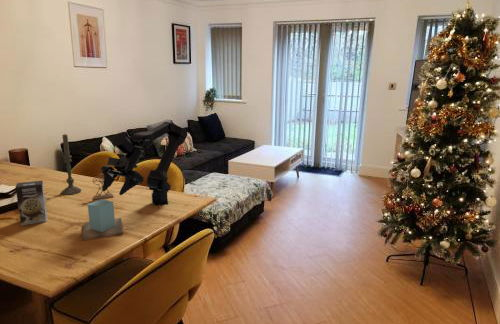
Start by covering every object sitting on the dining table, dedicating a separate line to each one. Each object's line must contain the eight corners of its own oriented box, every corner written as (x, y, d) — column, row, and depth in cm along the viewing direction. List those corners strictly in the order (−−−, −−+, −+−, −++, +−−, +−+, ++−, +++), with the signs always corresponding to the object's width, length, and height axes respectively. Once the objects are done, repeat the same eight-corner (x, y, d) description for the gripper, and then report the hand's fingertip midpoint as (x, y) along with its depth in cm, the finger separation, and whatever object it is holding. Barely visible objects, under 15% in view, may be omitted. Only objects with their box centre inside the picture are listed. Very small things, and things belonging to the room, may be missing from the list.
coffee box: (20, 226, 138) (14, 187, 134) (22, 220, 144) (16, 182, 140) (47, 221, 142) (41, 184, 138) (47, 216, 148) (42, 179, 144)
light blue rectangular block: (103, 222, 140) (101, 199, 138) (115, 225, 137) (113, 201, 135) (90, 228, 135) (87, 204, 132) (101, 232, 132) (99, 207, 129)
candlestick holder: (68, 196, 171) (60, 135, 164) (57, 192, 176) (50, 133, 169) (85, 191, 179) (79, 133, 171) (74, 187, 184) (68, 131, 176)
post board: (121, 220, 145) (120, 209, 144) (123, 234, 133) (122, 222, 131) (84, 224, 140) (83, 213, 139) (82, 240, 128) (80, 228, 126)
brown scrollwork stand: (112, 194, 174) (110, 171, 171) (113, 197, 171) (111, 173, 168) (93, 197, 170) (90, 174, 167) (93, 200, 167) (91, 176, 164)
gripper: (102, 146, 142) (81, 179, 135) (136, 151, 134) (116, 186, 127) (118, 160, 151) (99, 192, 144) (151, 166, 143) (133, 200, 136)
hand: (111, 192), depth 138 cm, fingers open, 9 cm apart
